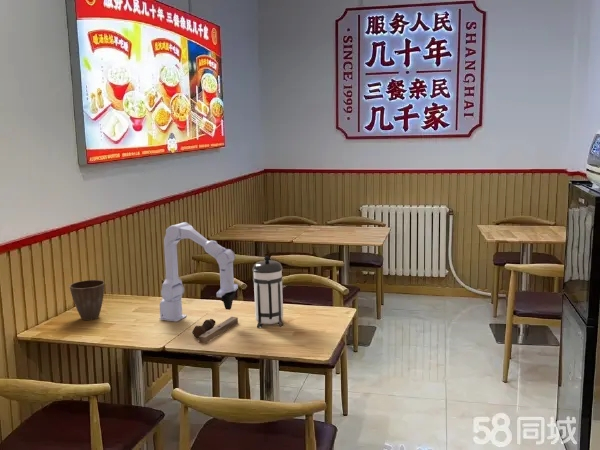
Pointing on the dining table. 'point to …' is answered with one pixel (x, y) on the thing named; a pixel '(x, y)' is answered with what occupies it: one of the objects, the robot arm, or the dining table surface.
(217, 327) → the batten
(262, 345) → the dining table surface
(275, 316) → the coffee press
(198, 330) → the bolt
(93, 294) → the plant pot
